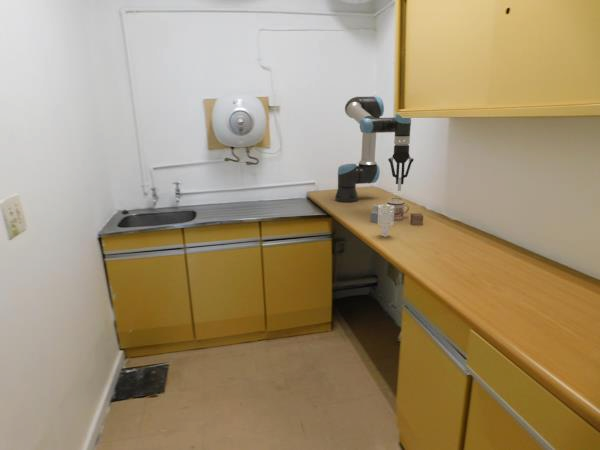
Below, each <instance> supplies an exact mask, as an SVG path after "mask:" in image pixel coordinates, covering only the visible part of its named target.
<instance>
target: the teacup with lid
mask: <svg viewBox="0 0 600 450" xmlns="http://www.w3.org/2000/svg"><path fill="white" fill-rule="evenodd" d="M386 203H387V204H386V205H392V206H394V220H393V221H395V220H396V221H398V220H399V221H400V220H401V221H402V220H403V219H404V215H405V214H407V213H408V212H410V205H408V204H405V203H406V202H405V201H404V200H403V199H400V198H399V197H398V196H394V197H393V198H391V199H389V200H387V202H386ZM405 207H407V209H406V211H404V210H405ZM391 211H392V210H391Z"/></svg>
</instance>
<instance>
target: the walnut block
mask: <svg viewBox="0 0 600 450" xmlns="http://www.w3.org/2000/svg"><path fill="white" fill-rule="evenodd" d="M409 223H410V224H411V225H412V226H423V225H424V215H423V214H422V213H421V212H410V222H409Z"/></svg>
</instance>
